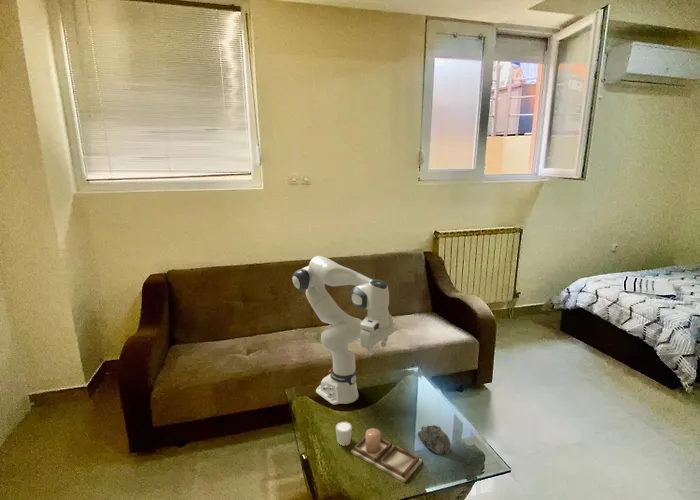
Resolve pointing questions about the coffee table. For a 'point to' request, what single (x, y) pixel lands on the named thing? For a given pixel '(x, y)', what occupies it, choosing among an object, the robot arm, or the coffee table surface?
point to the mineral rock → (435, 439)
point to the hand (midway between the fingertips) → (377, 350)
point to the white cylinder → (343, 433)
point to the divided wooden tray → (389, 459)
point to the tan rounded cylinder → (373, 440)
